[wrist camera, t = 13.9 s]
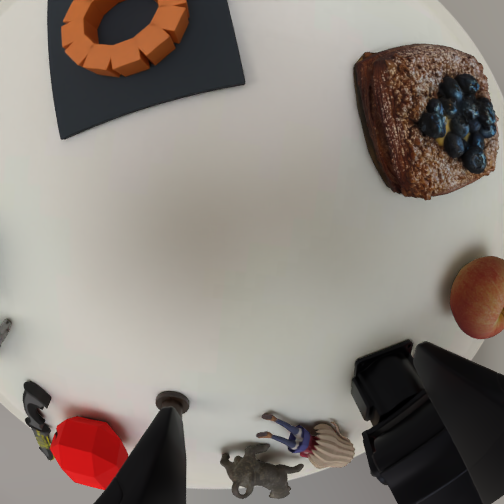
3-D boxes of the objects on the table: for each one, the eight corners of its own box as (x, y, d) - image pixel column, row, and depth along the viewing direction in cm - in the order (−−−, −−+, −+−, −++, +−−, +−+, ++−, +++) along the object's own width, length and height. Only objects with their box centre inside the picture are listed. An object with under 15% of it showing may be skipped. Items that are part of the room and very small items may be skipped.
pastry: (334, 55, 15) (380, 31, 10) (451, 46, 15) (500, 38, 9) (379, 206, 19) (429, 233, 14) (478, 165, 19) (527, 180, 14)
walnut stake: (182, 389, 24) (180, 425, 20) (193, 408, 25) (193, 443, 21) (150, 392, 24) (145, 427, 20) (163, 411, 25) (160, 445, 21)
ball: (56, 401, 23) (37, 454, 16) (119, 414, 25) (108, 474, 18) (77, 437, 26) (65, 484, 19) (133, 448, 27) (127, 499, 20)
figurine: (246, 450, 24) (329, 475, 28) (277, 451, 21) (357, 474, 26) (261, 402, 28) (336, 438, 33) (291, 397, 26) (363, 434, 30)
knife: (67, 471, 29) (40, 460, 28) (68, 464, 30) (42, 453, 29) (44, 399, 21) (8, 381, 20) (49, 389, 23) (13, 372, 21)
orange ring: (180, -31, 11) (177, -49, 9) (197, 56, 14) (195, 44, 12) (75, 5, 11) (60, -7, 8) (83, 93, 13) (66, 89, 11)
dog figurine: (210, 450, 29) (213, 501, 22) (245, 433, 28) (253, 489, 21) (271, 471, 33) (279, 512, 26) (303, 457, 32) (316, 500, 25)
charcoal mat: (211, -54, 10) (212, -59, 10) (244, 84, 15) (245, 82, 15) (50, 0, 10) (47, -3, 9) (64, 139, 15) (60, 139, 14)
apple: (490, 278, 24) (536, 313, 17) (446, 325, 26) (488, 370, 18) (480, 227, 21) (539, 260, 14) (429, 281, 23) (484, 329, 15)
